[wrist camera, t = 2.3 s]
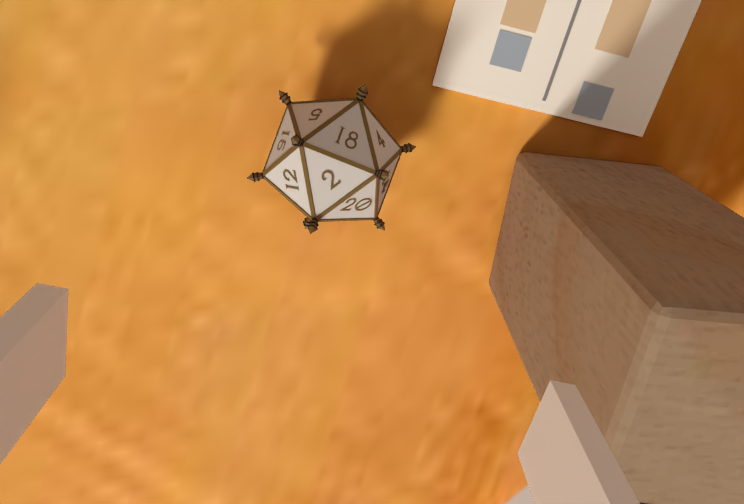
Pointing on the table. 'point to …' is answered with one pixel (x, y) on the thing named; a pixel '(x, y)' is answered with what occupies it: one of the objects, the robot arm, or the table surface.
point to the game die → (332, 160)
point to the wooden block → (632, 315)
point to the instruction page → (567, 55)
